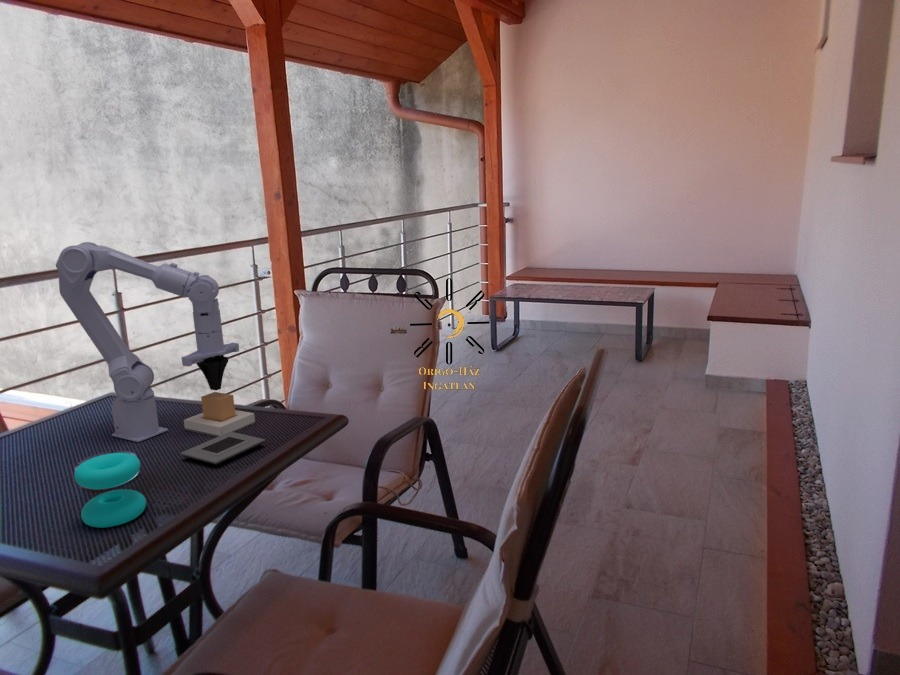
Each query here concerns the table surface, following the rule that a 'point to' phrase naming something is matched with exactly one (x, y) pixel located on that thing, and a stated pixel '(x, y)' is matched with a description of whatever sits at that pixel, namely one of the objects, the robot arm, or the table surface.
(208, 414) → the plug
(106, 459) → the donuts
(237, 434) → the electrical outlet
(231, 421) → the socket block
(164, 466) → the table surface
